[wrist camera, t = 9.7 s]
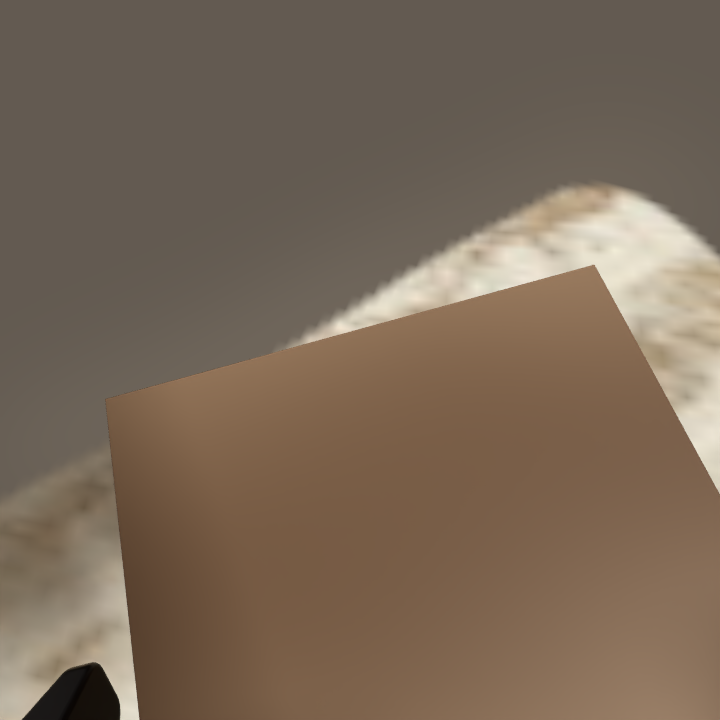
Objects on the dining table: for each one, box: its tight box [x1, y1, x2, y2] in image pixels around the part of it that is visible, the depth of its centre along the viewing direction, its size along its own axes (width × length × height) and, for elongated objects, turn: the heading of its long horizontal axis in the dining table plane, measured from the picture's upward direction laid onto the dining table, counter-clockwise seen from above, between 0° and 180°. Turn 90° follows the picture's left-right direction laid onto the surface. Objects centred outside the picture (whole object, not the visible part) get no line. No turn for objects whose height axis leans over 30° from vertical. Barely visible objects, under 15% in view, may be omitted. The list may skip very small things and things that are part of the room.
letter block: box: [105, 265, 720, 720], centre depth 10 cm, size 5×5×12 cm
